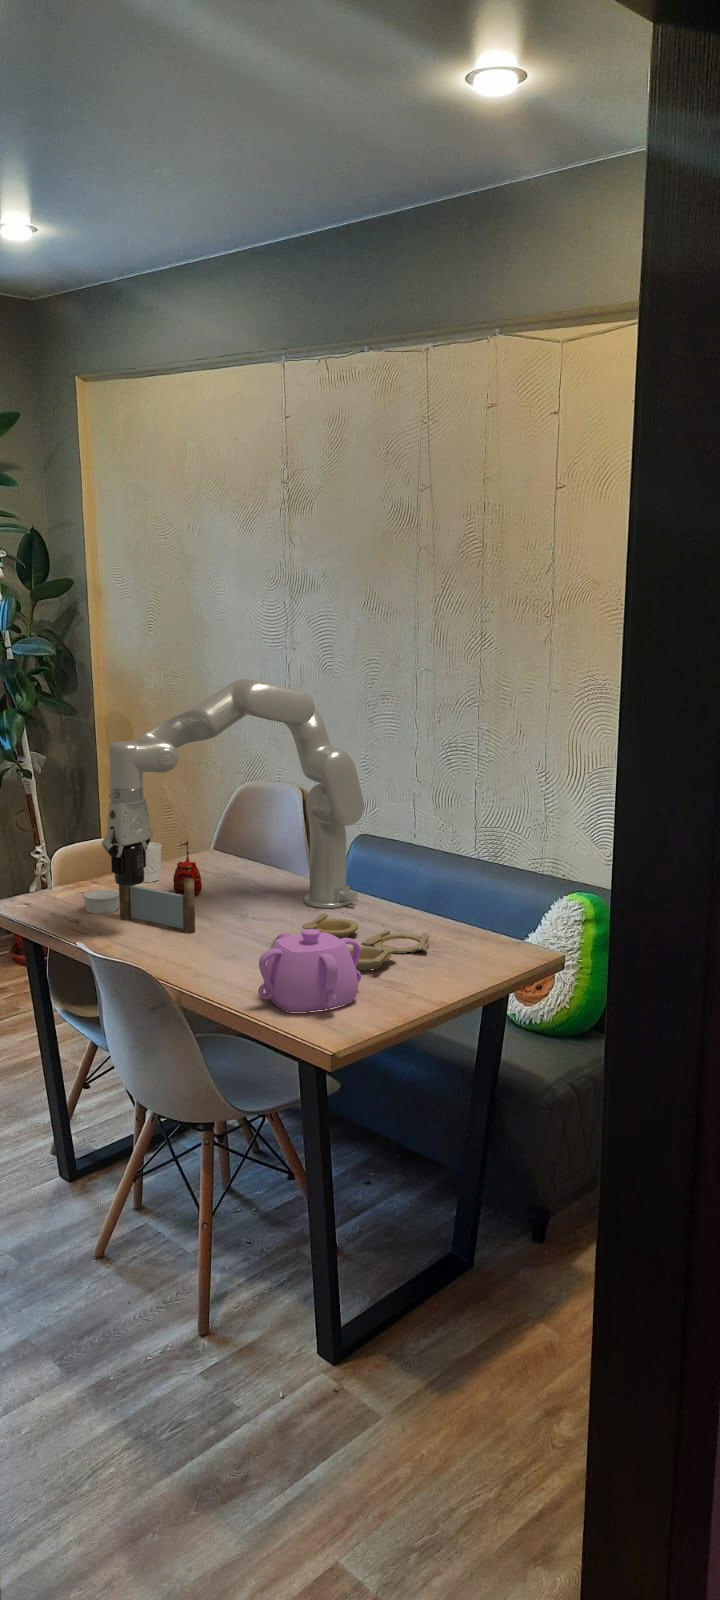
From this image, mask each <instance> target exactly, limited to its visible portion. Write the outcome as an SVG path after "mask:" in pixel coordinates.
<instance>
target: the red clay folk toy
mask: <svg viewBox="0 0 720 1600" xmlns="http://www.w3.org/2000/svg"><path fill="white" fill-rule="evenodd" d="M189 843H190V841H189V837H186V841H185V843H183V842H179V844H180V845H179V847H183V846H185V848H186V857H185V861H179V862H178V863H177V865H176V868H175V870H174V874H173V878H172V879H173V880H172V881H173V890H174V893H175V894H180V895H184V879H186V878H193V879H194V897H195V896H199V893H201V890H202V887H203V886H202V876H201V874H200V870H199V869H198V867H197V863H196V862H195V861H190V856H189V854H190V851H189Z"/></svg>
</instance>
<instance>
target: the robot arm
mask: <svg viewBox="0 0 720 1600" xmlns="http://www.w3.org/2000/svg"><path fill="white" fill-rule="evenodd" d="M315 707H316V705H315V701H314V700H313V698H312V697H311V695H310V694H309V693H307V692H306V691H302V690H299V689H294V688H289V687H285V686H280V685H276V684H271V683H268V682H265V681H261V680H255V679H254V680H253V679H248V678H239V679H236V680H234V681H232V682H230V683H229V684H227V685H226V686H224V687H223V688H222V689H220V690H219V691H216V693H214V694H212V695H211V696H210V697H208V698H206V699H204V700H203V701H202V702H200V703H199V704H197V705H196V706H194V707H192V708H190V709H188V710H185V711H183V712H182V713H179V714H177V715H175V716H172V717H170V718H168V719H166V720H164V721H162V722H161V723H159V724H157V725H155V726H154V727H152V728H151V729H150V730H148V731H146V732H144V733H143V734H142V735H141V736H139V737H138V738H136V741H131V740H127V741H125V740H123V741H115V742H113V743H111V744H110V745H109V747H108V748H109V749H108V757H109V758H108V761H109V789H110V791H109V794H108V799H110V802H109V805H108V811H107V822H106V824H107V825H106V827H107V829H106V833H107V834H106V836H105V837H104V839H103V840H102V841H101V846H102V847H103V848H104V850H105V851H106V852H107V853H108V856H109V857H110V858H111V872H112V873H113V874H115V873H118V874H123V872H124V867H123V857H121V854H122V851H123V848H124V846H128V845H132V844H136V843H140V844H141V845H142V846H143V861H144V867H146V851H145V850H147V849H148V844H149V842H151V840H152V837H153V834H154V830H153V829H152V828H151V822H150V821H151V820H150V813H149V812H150V811H149V808H148V803H147V800H146V798H144V773H160V774H161V773H167V772H169V771H171V770H173V769H174V768H175V767H176V766H177V764H178V762H179V759H180V756H179V755H180V754H179V752H178V748H180V747H182V746H185V745H187V744H190V743H195V742H202V741H206V740H209V739H213V738H215V737H217V736H218V735H220V734H221V733H223V732H224V731H226V730H227V729H229V728H230V727H232V726H233V725H234V724H235V723H237V722H239V721H240V720H242V719H243V718H244V717H246V716H251V717H256V718H260V719H265V720H268V721H273V722H277V723H278V722H279V723H282V724H285V726H286V727H287V728H288V730H289V732H290V733H291V735H292V738H293V741H294V744H295V747H296V748H295V749H296V751H297V755H298V759H299V763H300V766H301V770H302V772H303V774H304V776H305V777H306V778H307V779H308V780H311V781H313V782H316V785H314V786H312V787H311V788H310V790H309V791H308V793H307V796H306V802H305V803H306V804H305V805H306V813H307V818H308V825H309V893H308V894H306V895H305V896H304V897H303V902H304V904H306V905H307V906H310V907H315V908H323V909H324V908H325V909H333V908H334V909H335V908H341V907H346V906H348V905H350V904H351V903H352V902H356V901H357V899H358V891H351V890H350V885H348V884H347V831H346V827H350V826H353V825H356V823H358V822H359V821H360V820H361V818H362V816H363V813H364V809H365V807H364V806H365V805H364V804H365V803H364V796H363V792H362V788H361V783H360V780H359V776H358V772H357V769H356V768H357V767H356V765H355V763H354V761H353V759H352V757H351V755H349V753H347V752H346V751H345V750H343V749H341V748H337V747H333V746H332V745H331V742H330V738H329V735H328V732H327V729H326V726H325V723H324V720H323V718H322V716H321V714H320V713H319V711H318V710H317V708H315ZM116 846H118V849H117V850H116Z"/></svg>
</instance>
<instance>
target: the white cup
mask: <svg viewBox="0 0 720 1600" xmlns="http://www.w3.org/2000/svg"><path fill="white" fill-rule="evenodd" d="M145 851H146V867H144V881H143V882H142V883H144V882H149V883H153V882H152V881H156V880H159V879H160V880H161V869H162V844H161V843H159V842H155V841H154V842H153V841H150V842H149V844H148V849H147V850H145ZM160 880H159V881H160ZM156 882H157V881H156Z"/></svg>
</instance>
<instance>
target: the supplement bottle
mask: <svg viewBox="0 0 720 1600" xmlns="http://www.w3.org/2000/svg"><path fill="white" fill-rule="evenodd" d="M117 849H118V846H116V850H117ZM121 857H123V867H124V872H123V874H118V873H114V882H115V884H117V885H118V886H119V885H135V886H138V885H140V884H142V883H144V882H143V881H144V861H143V846H142V845H141V844H140V843H136V844H132V845H128V846H124V848H123V851H122V854H121Z"/></svg>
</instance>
